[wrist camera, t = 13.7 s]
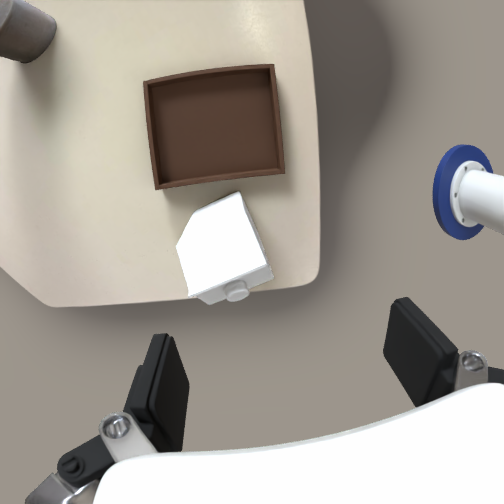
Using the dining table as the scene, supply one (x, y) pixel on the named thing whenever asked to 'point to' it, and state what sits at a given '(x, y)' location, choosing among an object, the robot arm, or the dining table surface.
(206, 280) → the milk carton
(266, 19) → the dining table surface
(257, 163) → the tray
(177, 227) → the dining table surface
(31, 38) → the pillar candle
